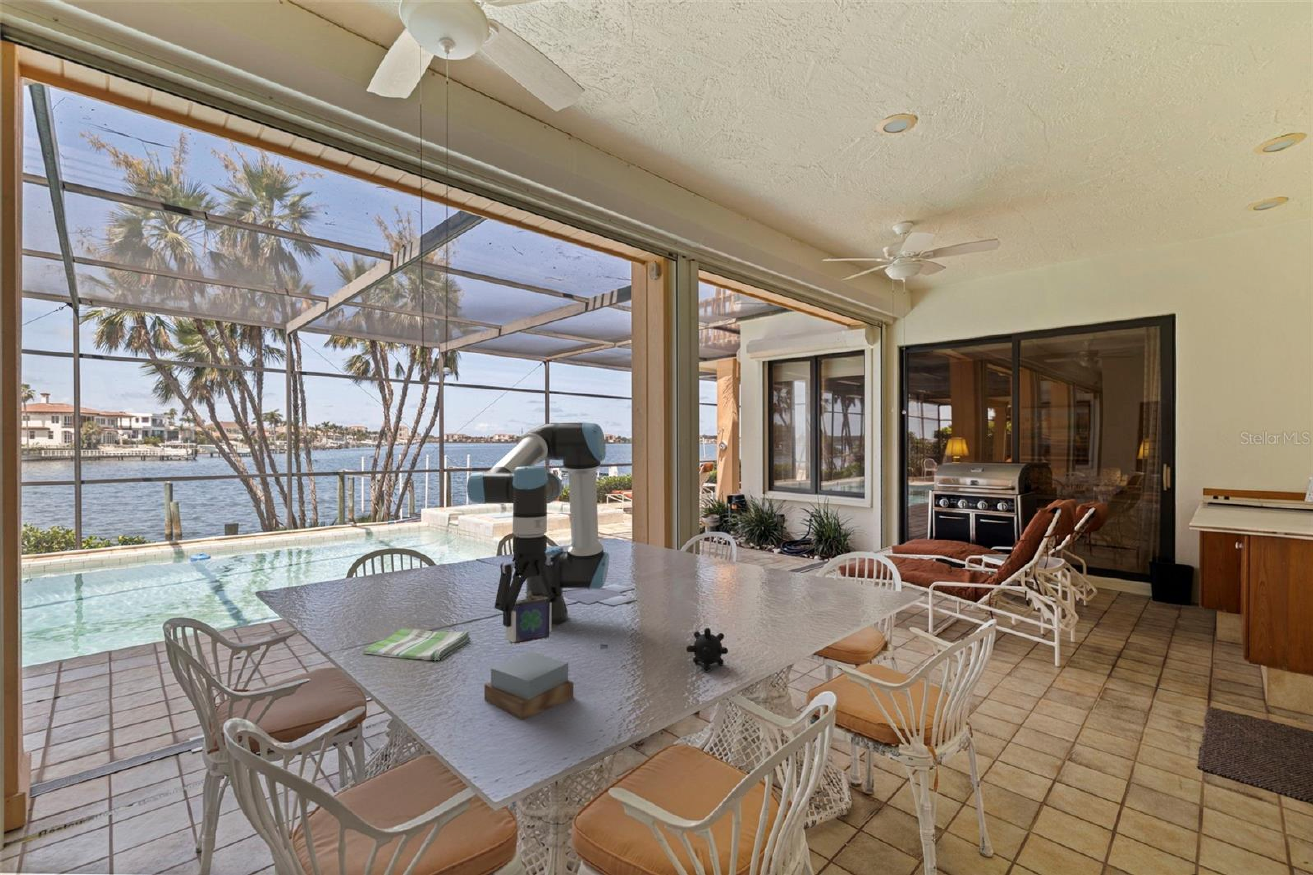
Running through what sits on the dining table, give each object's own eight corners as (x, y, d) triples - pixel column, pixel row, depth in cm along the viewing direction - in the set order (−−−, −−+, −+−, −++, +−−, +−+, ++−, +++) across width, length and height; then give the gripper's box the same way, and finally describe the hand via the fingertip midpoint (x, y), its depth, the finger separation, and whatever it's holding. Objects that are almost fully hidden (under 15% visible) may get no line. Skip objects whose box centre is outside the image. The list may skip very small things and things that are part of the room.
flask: (510, 645, 123) (511, 595, 124) (506, 641, 126) (507, 592, 126) (551, 638, 128) (551, 590, 128) (546, 634, 131) (547, 587, 131)
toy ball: (737, 648, 150) (736, 653, 139) (709, 677, 150) (705, 683, 138) (710, 617, 154) (706, 619, 142) (681, 645, 153) (676, 649, 142)
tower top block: (531, 668, 135) (531, 651, 136) (568, 680, 129) (568, 663, 129) (490, 686, 126) (491, 668, 126) (528, 700, 119) (528, 681, 119)
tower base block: (535, 682, 137) (535, 665, 137) (573, 700, 128) (573, 682, 128) (484, 702, 126) (484, 684, 127) (521, 722, 117) (521, 703, 117)
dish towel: (437, 664, 148) (437, 650, 148) (361, 657, 153) (361, 644, 153) (472, 641, 165) (472, 629, 165) (402, 635, 169) (402, 624, 169)
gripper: (496, 542, 117) (495, 652, 116) (577, 531, 133) (577, 627, 132) (477, 538, 122) (476, 643, 121) (557, 528, 138) (557, 620, 137)
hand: (529, 635), depth 127 cm, fingers closed on flask, 9 cm apart
